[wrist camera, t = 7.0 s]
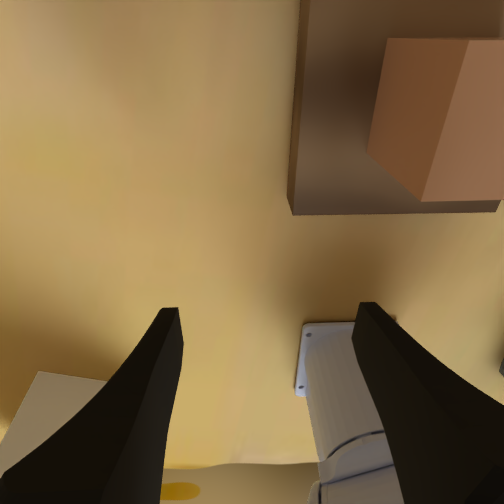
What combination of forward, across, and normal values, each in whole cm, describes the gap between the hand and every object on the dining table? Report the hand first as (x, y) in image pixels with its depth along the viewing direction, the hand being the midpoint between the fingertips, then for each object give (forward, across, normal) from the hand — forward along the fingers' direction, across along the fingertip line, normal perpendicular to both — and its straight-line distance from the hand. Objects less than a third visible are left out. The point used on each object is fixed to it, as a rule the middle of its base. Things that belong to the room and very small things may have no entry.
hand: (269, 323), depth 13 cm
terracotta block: (+7, -8, -7) cm, 13 cm away
